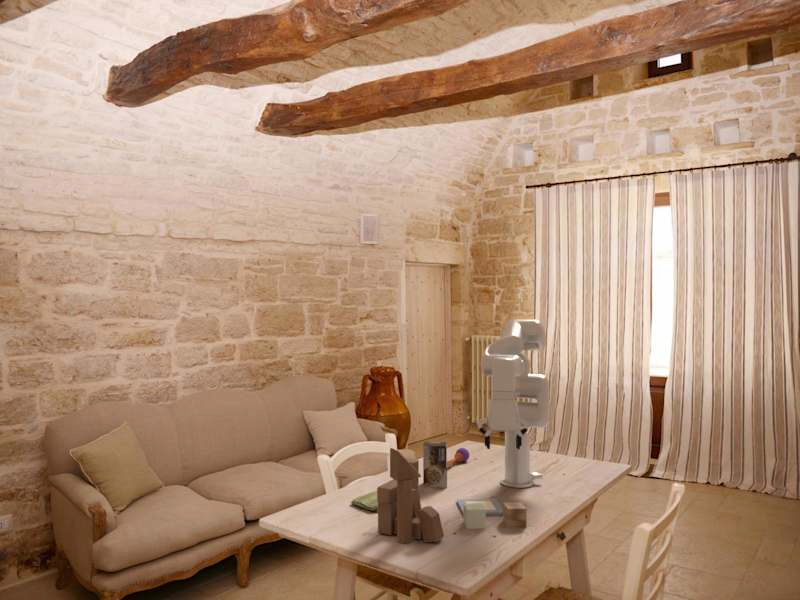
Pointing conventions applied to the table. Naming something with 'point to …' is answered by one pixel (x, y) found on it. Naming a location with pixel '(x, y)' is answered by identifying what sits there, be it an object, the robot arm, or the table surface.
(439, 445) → the coffee box
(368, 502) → the washcloth
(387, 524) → the wooden blocks
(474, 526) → the sage block
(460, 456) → the kendama
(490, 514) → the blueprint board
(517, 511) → the walnut block
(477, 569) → the table surface
